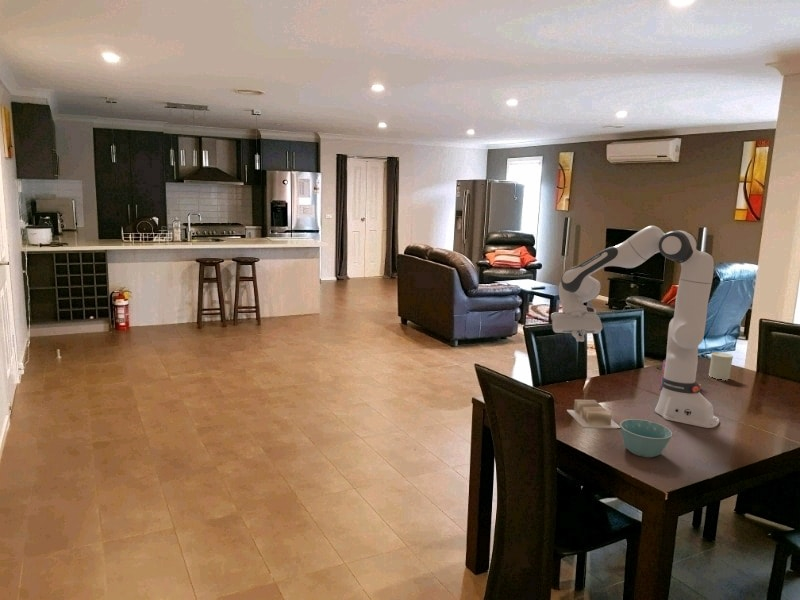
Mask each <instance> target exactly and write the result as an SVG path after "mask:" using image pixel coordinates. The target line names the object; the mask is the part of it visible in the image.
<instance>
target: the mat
mask: <svg viewBox="0 0 800 600" xmlns="http://www.w3.org/2000/svg"><path fill="white" fill-rule="evenodd" d="M566 412H567V413H568V414H569V415H570V416H571V417H572V418H573V419H574V420H575V421H576V423H578V425H580V426H581V427H582V428H583V429H617V428H621V427H620V424H617V423H616V422H615V421H614V420H613V419H612V418H611V425H589V424H588V423H587V422H586V421H585V420H584V419H583V418H582V417H581V416H580V415H579V414H578V413H577V412H576V411H575V410H574V409H566Z"/></svg>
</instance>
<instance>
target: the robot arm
mask: <svg viewBox="0 0 800 600" xmlns="http://www.w3.org/2000/svg"><path fill="white" fill-rule="evenodd" d="M698 243H699V242H698V240H697V238H696V236H695V235H694V234H692V233H691V232H688V231H685V230H679V229H678V230H671V231H668V232H666V233H665V232H664V231H663V230H662V229H661V228H660V227H658V226H656V225H649V226H646V227H644V228H642V229H640V230H639V231H637V232H635V233H634V234H632V235H631V236H630V237H628V238H627V239H626V240H624V241H623V242H621V243H618V244H616V245H615V246H609V247H606V248H604V249H603V250H600V251H599V252H597V253H595V254H594V255H593V256H590V257H589V258H588V259H586V260H584V261H583V262H581V263H579V264H577V265H574V266H571V267H568V269H566V270H565V271H564V272H563V274H562V276H561V279H560V280H561V281H560V282H559V285H558V295H559V296H558V297H559V300H560V303H561V311H562V312H561V311H560V312H557V311H554V312H553V313H551V314H550V320H551V321H552V322H551V323H552V331H553V332H554V333H555V334H571V335H572V337H574V339H575V340H576V342H582V343H583V342H585V335H586V334H600V332H602V330H603V329H604V327H603V325H602V320H601V317H600V316H599V315H598V314H597V309H596V308H595V307H590V306H587V305H584V303H588V302H590V301H591V302H592V301H593V300H594V299H597V298H598V297H599V295H600V294H601V291H602V285H601V282H600V281H599V280H598V279H596V278H595V277H593V276H591V275H593V274H594V273H596V272H598V271H599V270H602V269H603V268H606V267H617V268H618V267H620V268H625V269H634V268H636V267H638V266H640V265H642V264H643V263H645V262H646V261H647V260H649V259H650V258H651V257H653V256H655V254H658V253H660V254H661V255H662V256H663V257H664V258H666V259H668V260H670V261H673V262H675V263H677V264H680V267H681V269H680V275H679V280H678V285H677V291H676V294H675V295H676V296H675V304H674V313H673V317H672V318H671V319H670V321H669V323H668V329H667V344H666V357H665V359H666V364H665V371H664V376H663V378H662V382H661V390H660V394H659V398H658V401H657V404H656V407H655V409H654V412H655V413H656V414H658V415H659V416H661V417H662V418H663V419H665V420H668V421H672V422H677V423H682V424H685V425H686V424H687V425H691V426H695V427H701V428H704V429H705V428H706V429H709V428H710V429H711V428H716V427H717V426H718V425H719V423H720V419H719V417H717V416H715V415H714V406H713V404H712V403H711V402H710V401H709V400H708V399H707V398H706V397H704V395H702V393H701V392H700V391H701V385H702V384H701V383H698V382H697V381H696V378H697V376H696V375H697V370H698V364H699V363H698V361H699V359H698V358H699V357H698V356H699V345H700V344H701V343H702V342H703V339H704V338H705V337H704V336H705V331H706V325H707V324H706V323H707V317H708V315H707V313H708V306H709V305H708V304H709V299H710V294H711V290H712V289H711V288H712V284H713V279H714V266H715V264H714V262H715V261H714V258H713V256H712V255H711V254H709V253H708V252H705V251H700V250H698V245H699V244H698ZM579 334H580V335H579Z"/></svg>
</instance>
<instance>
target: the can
mask: <svg viewBox="0 0 800 600" xmlns="http://www.w3.org/2000/svg"><path fill="white" fill-rule="evenodd" d="M733 358H734V356H733V355H732V354H729V353H725V352H713V351H712V352H711V357H710V362H709V363H710V364H709V370H708V375H709V376H710V377H713V378H716V379H715V380H717V379H722V380H721V381H725V380H726V381H728V380H727V379H731V378H730V377H731V370H732V363H733ZM709 376H708V377H709ZM710 377H709V378H710ZM713 378H712V379H713Z"/></svg>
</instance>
